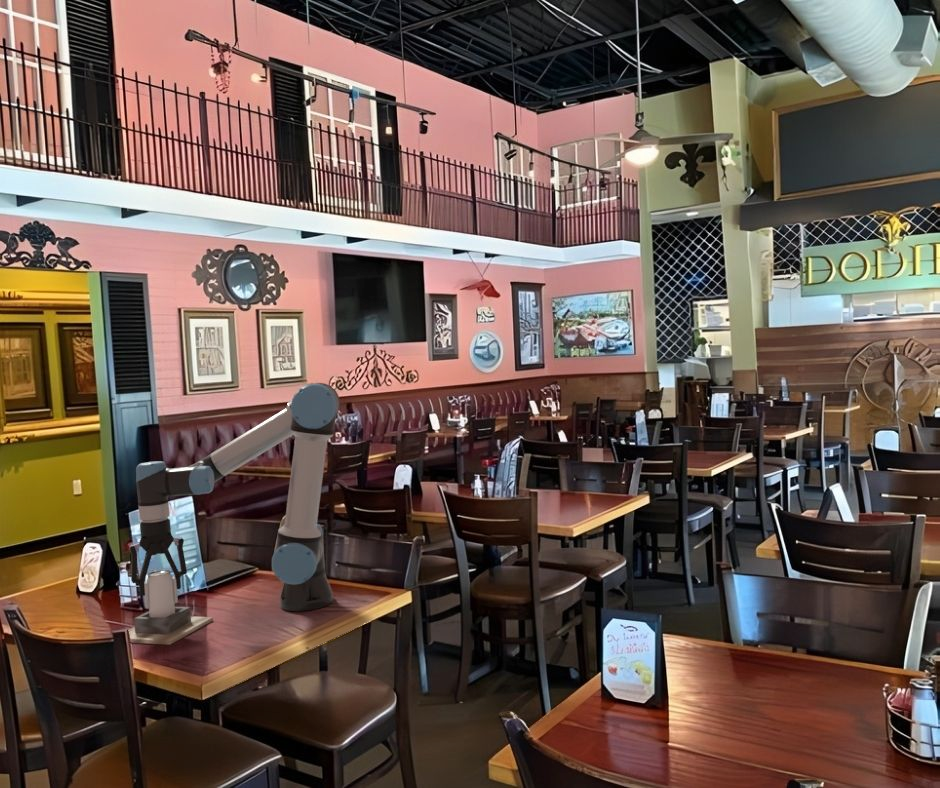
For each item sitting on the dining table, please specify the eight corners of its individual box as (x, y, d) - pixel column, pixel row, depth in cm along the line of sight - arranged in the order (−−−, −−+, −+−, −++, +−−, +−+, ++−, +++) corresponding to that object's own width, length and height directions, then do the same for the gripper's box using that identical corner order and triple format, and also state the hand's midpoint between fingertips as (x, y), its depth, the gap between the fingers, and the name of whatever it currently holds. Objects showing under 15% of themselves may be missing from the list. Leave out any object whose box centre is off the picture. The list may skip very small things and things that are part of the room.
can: (179, 612, 210) (176, 569, 210) (168, 620, 204) (164, 575, 203) (157, 613, 211) (153, 569, 211) (145, 621, 205) (141, 576, 204)
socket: (212, 620, 214) (211, 603, 213) (169, 644, 196) (168, 625, 196) (158, 618, 219) (157, 601, 219) (112, 641, 202) (110, 622, 201)
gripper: (190, 512, 214) (197, 593, 215) (114, 522, 205) (121, 608, 206) (194, 516, 208) (201, 600, 209) (116, 527, 198) (123, 615, 199)
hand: (161, 604), depth 207 cm, fingers closed on can, 6 cm apart
